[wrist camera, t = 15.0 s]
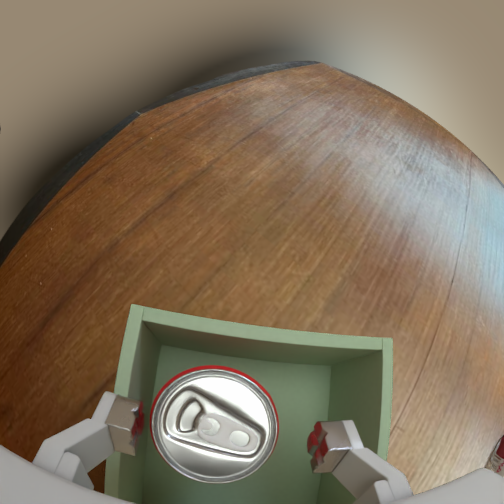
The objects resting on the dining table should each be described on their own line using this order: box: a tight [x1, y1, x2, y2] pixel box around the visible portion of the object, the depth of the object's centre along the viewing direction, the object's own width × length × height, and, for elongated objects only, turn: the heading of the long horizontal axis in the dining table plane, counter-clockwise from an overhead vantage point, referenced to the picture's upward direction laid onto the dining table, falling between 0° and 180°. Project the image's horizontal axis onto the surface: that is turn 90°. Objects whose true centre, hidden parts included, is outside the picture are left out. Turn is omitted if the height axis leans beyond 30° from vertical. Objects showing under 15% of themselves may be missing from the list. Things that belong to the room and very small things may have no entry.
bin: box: [104, 304, 393, 504], centre depth 16 cm, size 16×16×9 cm
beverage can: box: [149, 365, 279, 484], centre depth 14 cm, size 5×5×12 cm
